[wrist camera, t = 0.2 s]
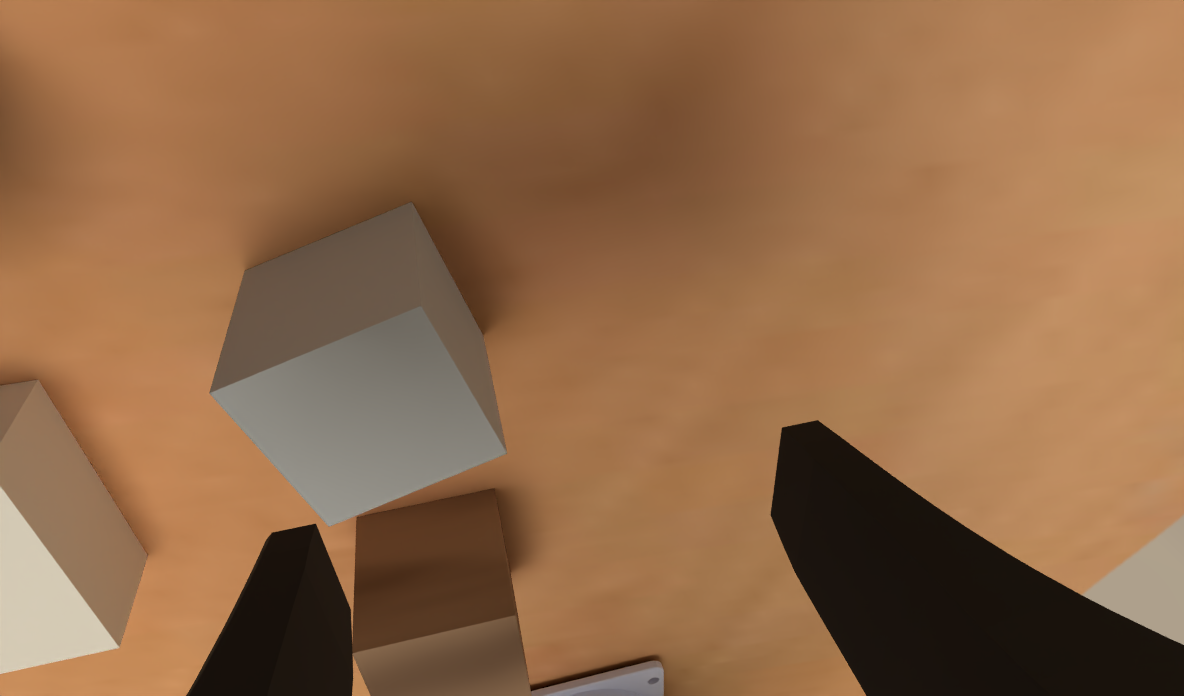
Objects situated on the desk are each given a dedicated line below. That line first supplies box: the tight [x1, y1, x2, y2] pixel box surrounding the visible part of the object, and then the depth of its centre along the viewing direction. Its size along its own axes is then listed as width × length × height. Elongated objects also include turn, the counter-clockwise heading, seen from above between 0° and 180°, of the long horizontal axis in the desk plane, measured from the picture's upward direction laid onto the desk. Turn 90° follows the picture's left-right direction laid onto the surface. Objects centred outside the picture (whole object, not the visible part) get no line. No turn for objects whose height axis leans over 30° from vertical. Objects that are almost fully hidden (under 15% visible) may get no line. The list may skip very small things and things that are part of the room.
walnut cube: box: [352, 489, 532, 696], centre depth 24 cm, size 4×4×5 cm
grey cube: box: [210, 202, 507, 527], centre depth 18 cm, size 4×4×5 cm
